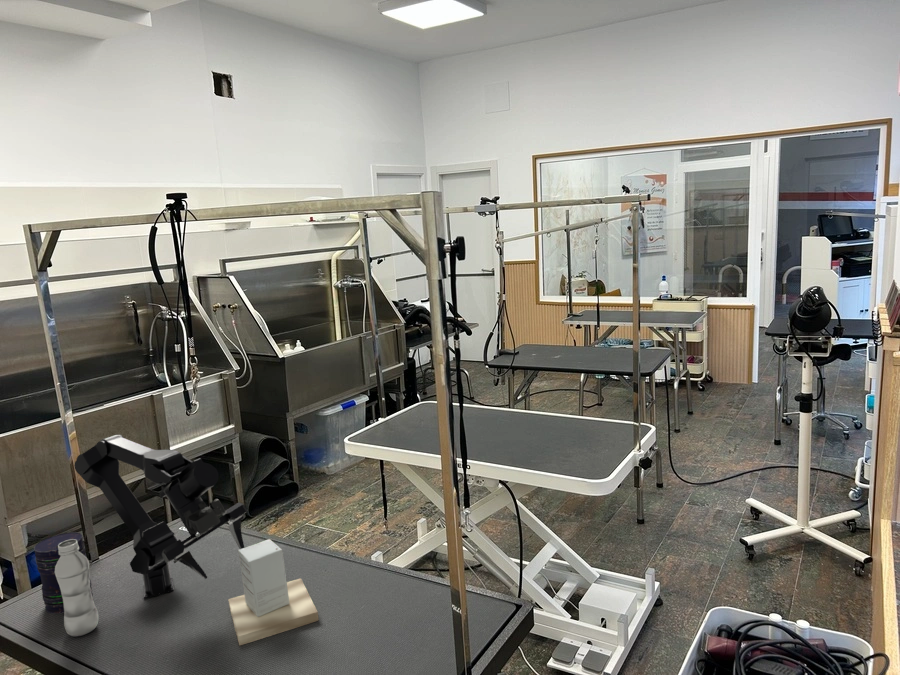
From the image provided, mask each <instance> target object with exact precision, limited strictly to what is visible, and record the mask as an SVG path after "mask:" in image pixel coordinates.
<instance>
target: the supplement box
mask: <svg viewBox="0 0 900 675" xmlns="http://www.w3.org/2000/svg"><path fill="white" fill-rule="evenodd" d="M237 553H238V558H239V566H240V572H241V580H242V586H243V595H245V602H246V604H247V605H248V607H249V608H250V609H251V610H252V611H253V612H254V614H255V615H256V616H257V617H260V616H262V615H264V614H266V613H269V612H271V611H273V610H276V609H278V608H281V607H283V606H285V605H288V604H290V603H289V596H288V588H287V582H288V581H287V576H286V575H287V574H286V567H285V566H286V565H285V560H284V553H283V549H282V548H280V546H278V545H277V544H276V543H275V542H274V541H272V540H271V539H270V538H268V539H266V540H263V541H260V542H258V543H255V544H252V545H248V546H246V547H244V548H243V549H238V550H237Z"/></svg>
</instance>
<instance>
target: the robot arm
mask: <svg viewBox="0 0 900 675" xmlns="http://www.w3.org/2000/svg"><path fill="white" fill-rule="evenodd" d="M120 462H122V463H124V464H128V465H129V466H132V467H135V468H137V469H140V470H141V471H143V475H144V477H145V478H147V479H148V480H150V481H151V482H153V483H154V484H157V485H161V490H160V492H159V498H161V499H162V498H164V497H166V498H167V499H168V501H169V502H170V505H171V506H172V507H173V509H174V510H175V512H176V514H177V515H178V517H179V519H180V520H181V522H182V524H183V526H184V527H185V528H186V529H185V530H187V532H188V534H189V535H190V536H188V537H187V538H186V539H184V540H181V539H177V537H176V536H175V532H174V531H172V530H171V529H170V527H169V525H168V523H167V522H165V521H162V522H159V523H157V522H156V521H153V519H152V518H151V517H150V515H149V514H148V512H146V509H144V507H143V505H141V502H139V500H138V498H137V497H136V496H135V494H134V493H133V492H132V490H131V488H129V486H128V485H127V483H126V482H125V480H124V479H123V478H122V477H121V474H120ZM74 470H75V471H76V473H77V474H78V475H79V476H80V478H82V479H83V481H85V483H87V484H89V485H91V486H94V487H97V488H99V489H100V490H101V492H102V493H103V496H105V498H106V499H107V501H109V503H110V505H111V506H112V507H113V509H114V510H115V512H116V513H117V515H118V516H119V517H120V518H121V520H122V522H123V523H124V524H125V526H126V527H127V528H128V530H129V532H130V533H131V535H132V536H133V537H132V538H133V543H132V544H133V548H132V549H133V551H134V552H135V555H134V556H133V558H132V559H131V561H130V562H129V566H130V568H131V570H132V573H136V574H139V575H140V574H141V575H142V579H143V586H142V588H143V589H142V591H143V592H142V594H143V595H142V597H143V599H144V600H145V599H149V598H153V597H156V596H160V594H161V595H164V594H167V593H171V592H174V590H175V586H174V579H173V577H171V573H170V567H169V563H170V562H172V561H173V564H176V563H178V562H179V563H180V564H183V565H185V566H186V567H188V568H190V569H191V570H192V571H194V572H195V573H196V574H198V575H199V576H201V577H202V578H203V579H205V580H206V579H208V576H207V574H206V573H205V571H204V569H203V568H202V567H201V565H200V564H199V563H198V561H197V560H196V559H195V557H194V556H193V555H192V553H191V551H190V550H188V551H187V549H188V548H189V547H191V546H192V545H194V544H195V543H197V542H198V541H200V540H202V539H203V538H204V537H207V536H208V535H209V534H211V533H212V532H214V531H216V530H217V529H219V528H220V527H222V526H224V525H225V524H227V523H228V524H229V525H228V526H227V528H228V530H229V532H230V534H231V536H232V538H233V539H234V541H235V543H236V545H237V547H238V550H240V549H243V548H245V543H244V540H243V533H242V520H244V519H245V514H246V513H247V512H248V509H247V507H246V505H245V504H244V503H243V502H240V501H239V502H237V503H235V504H234V505H232V506H231V507H229V508H228V509H225V507H224V505H223V504H222V503H221V500H220V499H218V498H215V499H214V500H213V501H211V502H209V506H208V504H206V502H205V501H204V500H203V499H202V497H201V496H202V495H204V494H205V493H206V492H208V490H210V489H212V488H213V487H214V486H215V485H216V484H217V483H218V481H219V476H220V475H219V472H218V470H217V468H216V467H215V466H213V464H211V463H208V462H204V461H203V459H202V458H196V459H195V460H192V459H189V457H186V456H184V455H183V454H182V452H180V451H178V450H173V449H153V448H150V447H148V446H145V445H142V444H140V443H137V442H134V441H132V440H129V439H127V438H125V437H124V436H123V435H122V434H114V435H111V436H108V437H104V438H102V439H100V440H99V441H98V442H97V443H96V444H95V445H93V446H92V447H91V448H88V450H86V451H84V452H83V453H81V454H78V455H77V457H76V460H75V462H74ZM162 484H163V485H162ZM197 533H198V534H197Z"/></svg>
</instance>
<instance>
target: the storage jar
mask: <svg viewBox="0 0 900 675" xmlns="http://www.w3.org/2000/svg"><path fill="white" fill-rule="evenodd" d="M83 538H84V537H83V534H82V533H81V532H78V531H77V532H76V531H74V532H73V531H72V532H64V533H58V534H56V535H53V536H50V537H47V538H45V539H42V540H41V541H39V542H38V543H36V544H35V545H34V547H33V550H34V553H35V554H34V555H35V564H36V569H37V571H38V573H39V576H40V580H41V592H42V594H41V595H42V600H43V602H44V605H45V606H44V608H45V612H46V613H48V614H51V615H59V614H60V615H61V614H64V604H63V598H62V594H61V590H60V586H59V584H58V581H57V578H56V575H55V566H56V564H57V562H58V560H59V558H60V557H61V555H59V553H58V552H59V550H58V545H59V544H60V543H62V542H64V541H66V540H71V539H76V540H77V541H78V546H79V550H78V551H79V552H80V553H82V554H83V555H84V556H86V557H87V553H86V546H85V543H84V540H83ZM89 580H90V588H91V594H92V597H93V598H94V596H93V594H94V593H93V591H92V589H93V588H92V580H91V578H90V575H89Z"/></svg>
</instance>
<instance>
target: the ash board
mask: <svg viewBox="0 0 900 675" xmlns="http://www.w3.org/2000/svg"><path fill="white" fill-rule="evenodd" d="M287 588H288V596H289V603H290V604H288V605H285V606H283V607H281V608H278V609H276V610H273V611H271V612H269V613H266V614H264V615H262V616H260V617H257V616H256V615H255V614H254V612H253V611H252V610H251V609H250V608H249V607H248V605H247V604H246V602H245V595H244V594H242V595H241V594H240V595H238V596H233V597H231V598H228V599H227V600H228V607H229V610H230V615H231V619H232V622H233V626H234V631H235V634H236V639H237V642H238V646H243V645H246V644H249V643H250V644H251V643H252V642H256V641H259V640H262V639H265V638H268V637H272V636H275V635H278V634H281V633H283V632H287V631H291V630H294V629H297V628H299V627H303V626H306V625H309V624H312V623H315V622H318V621H319V614H318V613H319V612H318V610H317V607H316V606H315V604H314V602H313V600H312V598H311V596H310V594H309V592H308V589H307V588H306V586H305V584H304V582H303V579H302V578H297V579H294V580H290V581H287Z"/></svg>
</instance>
